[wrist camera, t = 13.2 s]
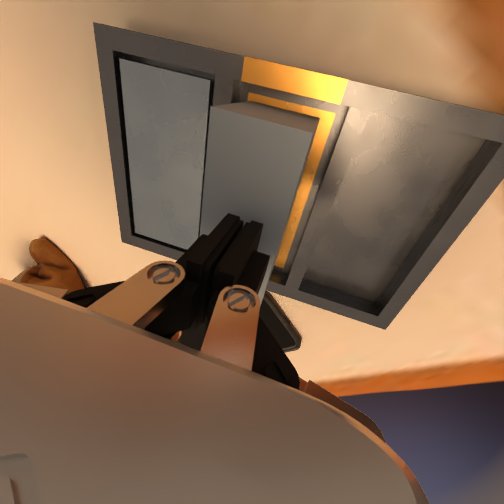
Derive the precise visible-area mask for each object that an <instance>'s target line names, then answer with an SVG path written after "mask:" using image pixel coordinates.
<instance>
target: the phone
mask: <svg viewBox="0 0 504 504" xmlns="http://www.w3.org/2000/svg"><path fill="white" fill-rule="evenodd" d="M259 316H260V317H261V319H262V320H263V321H264V323H265V324H266V326H267V327H268V329H269V330H270V332H271V333H272V335H273V336H274V338H275V339H276V341H277V342H278V344H279V345H280V347H281V348H282V350H283V351H284V353H285V352H290V351H295V350H298V349H299V348H300V346H301V336H300V334H299V333H298V331H297V330H296V328H295V327H294V326H293V324H292V323H291V321H290V320H289V319H288V317H287V316H286V314H285V313H284V312H283V310H282V309H281V308H280V306H279V305H278V303H277V302H276V301H275V299H274V298H273V296H272V295H271V294H270V293H269V292H267V291H265V294H264V297H263V300H262V303H261V306H260V310H259ZM284 316H285V317H284ZM285 318H286V319H287V320H288V322H289V323H288V322H287V320H286V319H285ZM206 322H207V320H206ZM206 322H205V323H204V324H203V325H202V324H199V325H198V327H197V329H196V331H194V330H192V329H186V330H183V331H182V334H181V336H180V337H179V339H178V340H177V341H176V342H177V343H180V344H182V345H185V346H188V347H190V348H193V349H195V350H198V351H201V348H202V345H203V342H204V339H205V329H206ZM296 332H297V333H296Z"/></svg>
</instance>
